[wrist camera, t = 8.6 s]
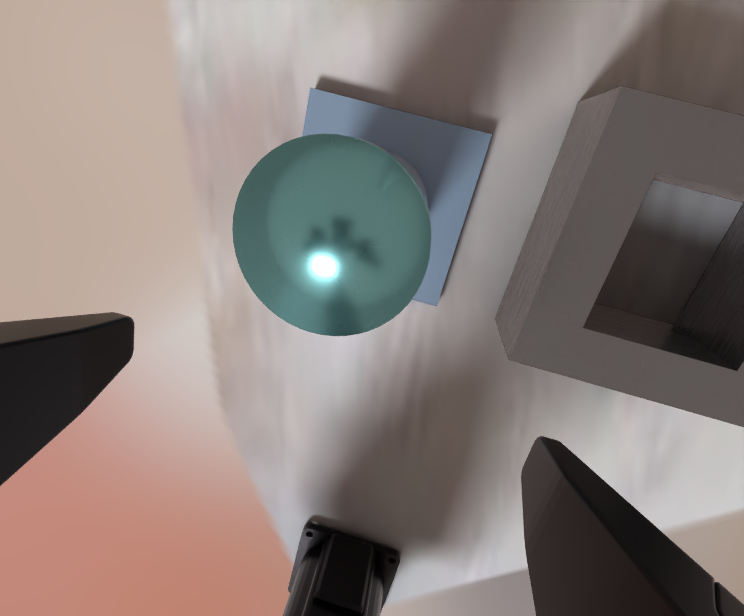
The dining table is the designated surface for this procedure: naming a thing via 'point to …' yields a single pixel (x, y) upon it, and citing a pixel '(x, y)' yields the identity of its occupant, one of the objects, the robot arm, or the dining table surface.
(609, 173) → the housing
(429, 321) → the dining table surface
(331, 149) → the green lidded jar
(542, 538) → the robot arm
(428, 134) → the mat
